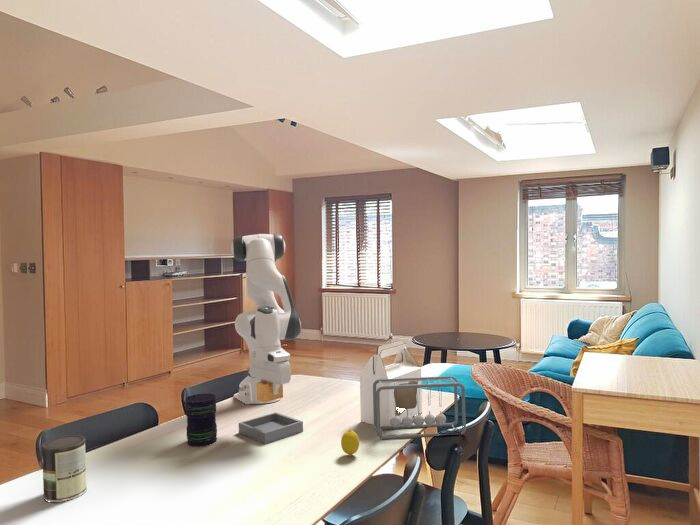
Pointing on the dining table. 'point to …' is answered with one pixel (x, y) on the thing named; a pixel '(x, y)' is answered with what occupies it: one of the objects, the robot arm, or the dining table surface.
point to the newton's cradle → (418, 418)
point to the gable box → (399, 369)
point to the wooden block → (267, 391)
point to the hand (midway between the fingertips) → (269, 392)
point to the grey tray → (270, 427)
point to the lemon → (350, 442)
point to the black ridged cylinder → (201, 420)
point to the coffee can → (64, 468)
